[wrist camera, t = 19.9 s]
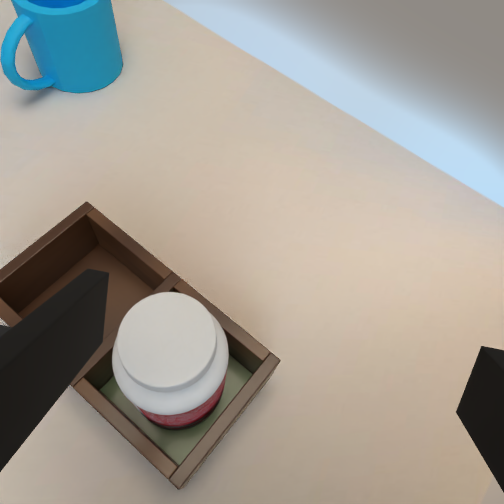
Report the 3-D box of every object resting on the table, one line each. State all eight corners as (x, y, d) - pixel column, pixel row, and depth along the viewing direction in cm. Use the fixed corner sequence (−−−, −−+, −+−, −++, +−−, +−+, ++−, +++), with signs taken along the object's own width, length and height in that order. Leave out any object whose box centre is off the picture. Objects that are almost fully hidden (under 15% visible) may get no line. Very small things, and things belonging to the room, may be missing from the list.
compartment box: (269, 377, 32) (280, 360, 28) (183, 488, 29) (178, 490, 24) (101, 236, 36) (86, 200, 32) (6, 318, 33) (-28, 290, 28)
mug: (78, 26, 48) (56, -55, 40) (139, 59, 46) (127, -19, 39) (-10, 90, 42) (-54, 10, 35) (56, 129, 41) (24, 54, 34)
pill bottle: (241, 378, 31) (258, 331, 21) (181, 452, 29) (168, 436, 19) (177, 322, 33) (165, 254, 23) (114, 387, 30) (70, 342, 20)
